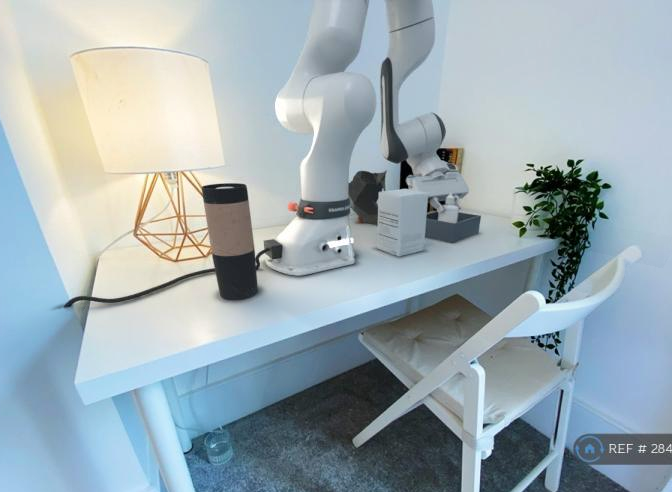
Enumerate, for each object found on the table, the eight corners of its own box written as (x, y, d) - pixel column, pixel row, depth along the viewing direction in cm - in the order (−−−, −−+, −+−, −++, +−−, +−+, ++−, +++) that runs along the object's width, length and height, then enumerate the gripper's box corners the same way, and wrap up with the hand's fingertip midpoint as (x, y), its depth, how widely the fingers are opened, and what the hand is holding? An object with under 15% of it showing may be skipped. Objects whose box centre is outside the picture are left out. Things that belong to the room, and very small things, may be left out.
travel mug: (210, 294, 65) (190, 186, 57) (240, 281, 71) (227, 182, 63) (237, 304, 61) (220, 190, 53) (267, 289, 67) (256, 184, 59)
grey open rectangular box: (452, 243, 95) (455, 223, 93) (413, 234, 104) (414, 216, 102) (478, 233, 104) (481, 215, 102) (440, 226, 113) (442, 209, 111)
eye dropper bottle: (450, 235, 101) (455, 194, 96) (434, 232, 104) (438, 192, 100) (458, 232, 103) (463, 192, 98) (441, 229, 107) (446, 190, 102)
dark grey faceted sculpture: (366, 216, 129) (367, 166, 121) (399, 222, 118) (402, 168, 111) (339, 222, 120) (339, 168, 113) (372, 229, 110) (374, 171, 102)
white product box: (400, 243, 95) (404, 188, 89) (424, 251, 88) (430, 191, 82) (375, 248, 91) (377, 191, 85) (398, 257, 84) (402, 195, 78)
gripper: (409, 168, 97) (430, 208, 93) (460, 165, 106) (481, 201, 102) (398, 182, 103) (417, 221, 99) (448, 178, 112) (467, 213, 108)
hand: (450, 210), depth 101 cm, fingers closed on eye dropper bottle, 5 cm apart
